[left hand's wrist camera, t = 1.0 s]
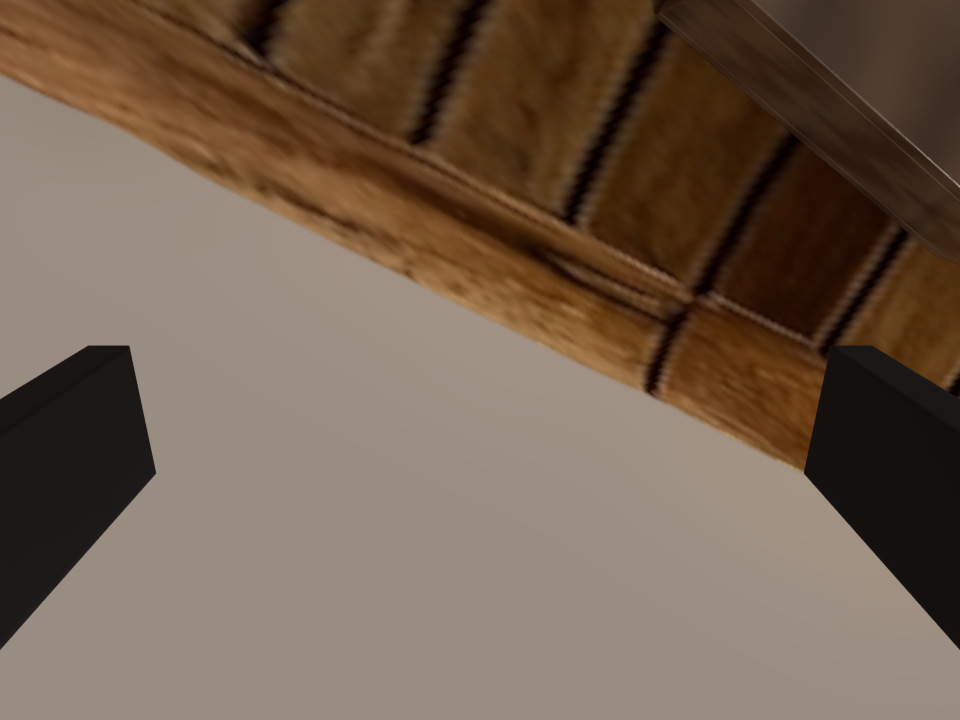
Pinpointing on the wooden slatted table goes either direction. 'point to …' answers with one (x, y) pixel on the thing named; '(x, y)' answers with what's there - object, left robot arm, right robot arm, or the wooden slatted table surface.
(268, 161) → the wooden slatted table surface
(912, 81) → the cabinet
